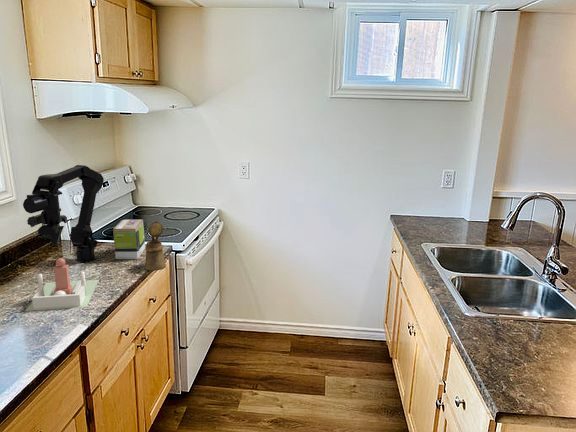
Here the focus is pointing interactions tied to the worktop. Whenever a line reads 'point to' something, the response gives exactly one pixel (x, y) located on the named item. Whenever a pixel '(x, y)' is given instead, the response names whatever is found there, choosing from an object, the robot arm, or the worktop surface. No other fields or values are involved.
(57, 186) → the robot arm
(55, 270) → the striker
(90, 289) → the pitch
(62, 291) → the ball
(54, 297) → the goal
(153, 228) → the brown pawn figure
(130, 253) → the tea box
